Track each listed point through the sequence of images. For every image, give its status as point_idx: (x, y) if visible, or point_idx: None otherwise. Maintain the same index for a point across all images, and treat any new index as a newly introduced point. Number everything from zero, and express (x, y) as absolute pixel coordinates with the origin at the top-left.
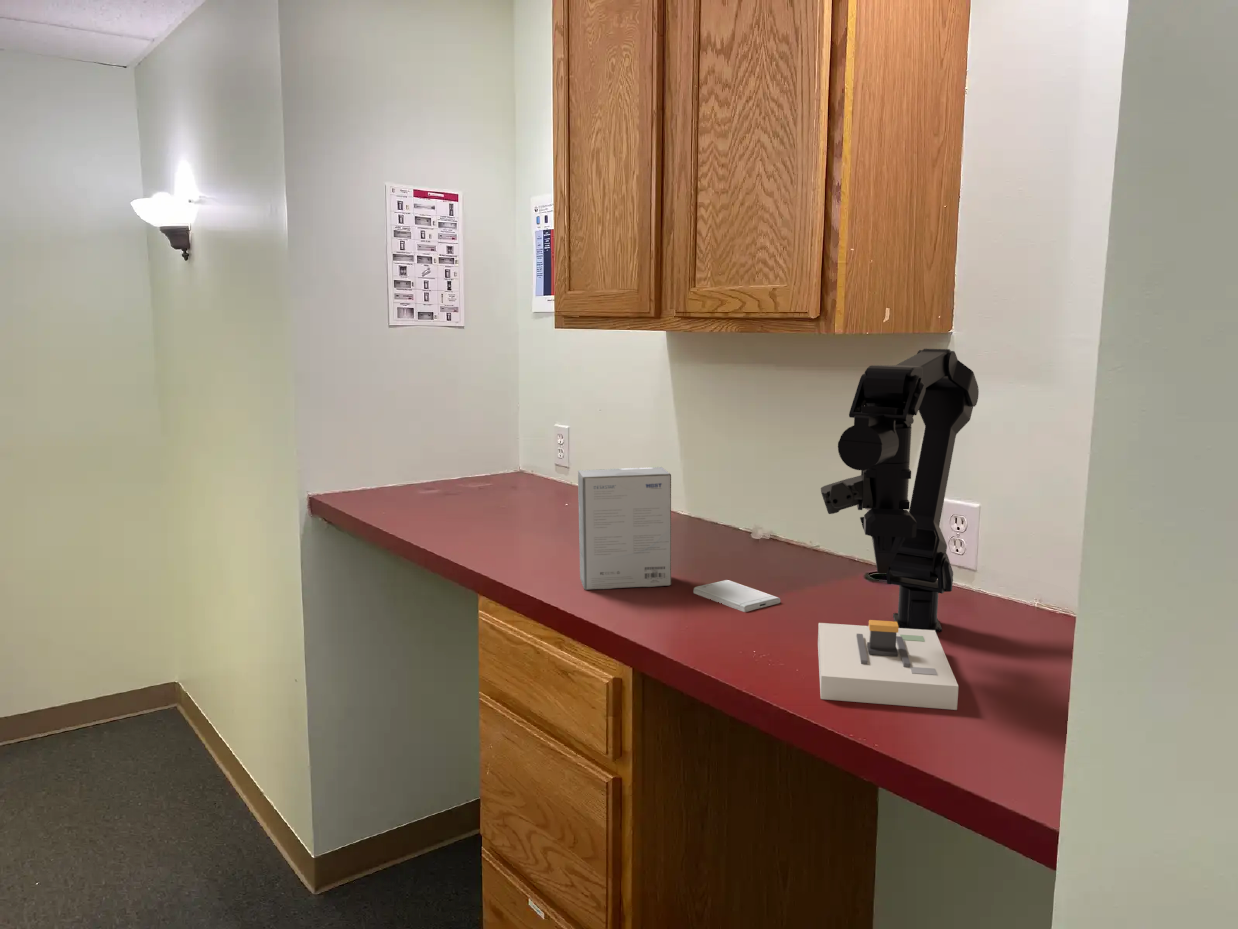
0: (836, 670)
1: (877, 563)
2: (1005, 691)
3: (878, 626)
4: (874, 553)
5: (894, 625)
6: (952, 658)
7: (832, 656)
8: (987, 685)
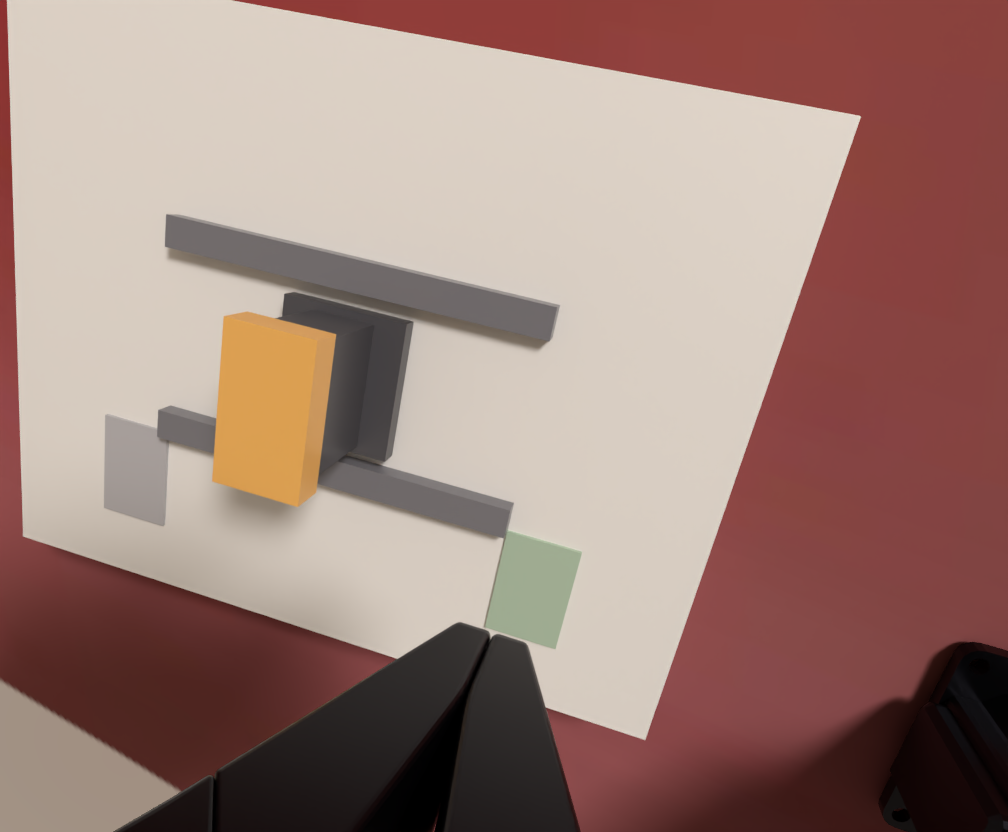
0: (83, 59)
1: (370, 679)
2: (261, 713)
3: (225, 367)
4: (546, 801)
5: (227, 465)
6: None
7: (260, 80)
8: (303, 686)
